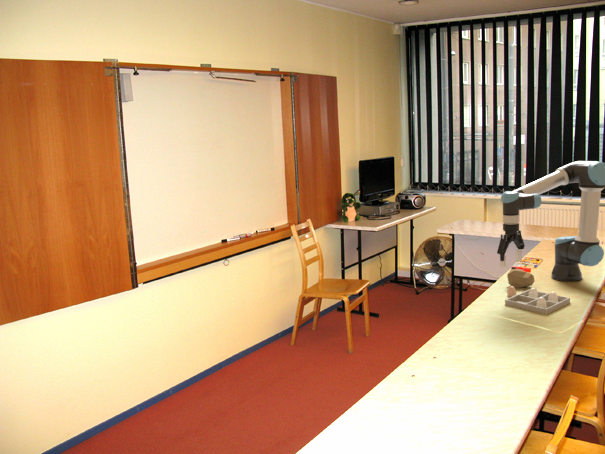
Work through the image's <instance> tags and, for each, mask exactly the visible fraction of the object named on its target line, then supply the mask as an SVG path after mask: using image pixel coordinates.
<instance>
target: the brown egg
mask: <svg viewBox="0 0 605 454" xmlns="http://www.w3.org/2000/svg"><path fill="white" fill-rule="evenodd" d="M515 295H517V290H516V287H514V286H511V285H510V286H508V289H507V297H509V298H510V297H513V296H515Z"/></svg>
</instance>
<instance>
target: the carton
mask: <svg viewBox="0 0 605 454" xmlns="http://www.w3.org/2000/svg"><path fill="white" fill-rule="evenodd" d="M530 289H531V288H530ZM530 289H527V290H525V291H522V292H520V293H518V294H517V293H516V295H515V296H513V297H509V298H506V299H505V300H504V305H506V306H509V307H514V308H518V309H522V310H527V311H530V312H534V313H538V314H542V315H548V314H550V313H552V312H554V311H556V310H559V309H560V308H562V307H563V308H564V306H567V305H569V304H570V303H571V298H570V297H567V296H562V295H558V294H557V296H558V303H555V302H550V301H548V296H549V294H550V292H549V293H547V292H544V291H539V290H537V292H538V298H539V297H543V298H544V299H545V301H546V309H544V308H540V307H537V300H538V298H532V297H529V291H530Z"/></svg>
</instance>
